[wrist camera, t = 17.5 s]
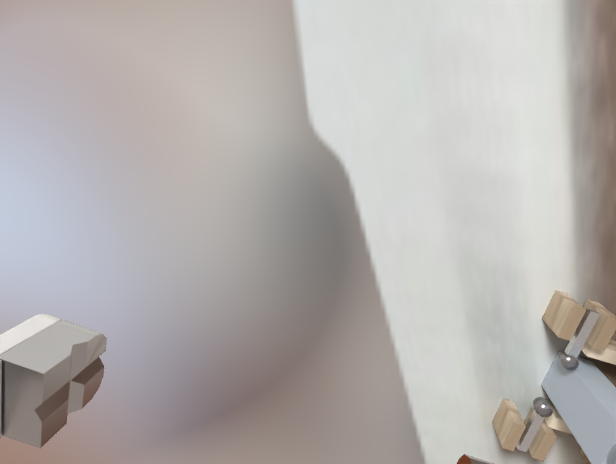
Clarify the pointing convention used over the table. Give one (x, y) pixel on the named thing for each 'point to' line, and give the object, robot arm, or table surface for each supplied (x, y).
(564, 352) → the plunger
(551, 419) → the light wooden frame
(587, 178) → the table surface
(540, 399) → the plunger
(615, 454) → the peg
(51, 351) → the robot arm
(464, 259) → the table surface
